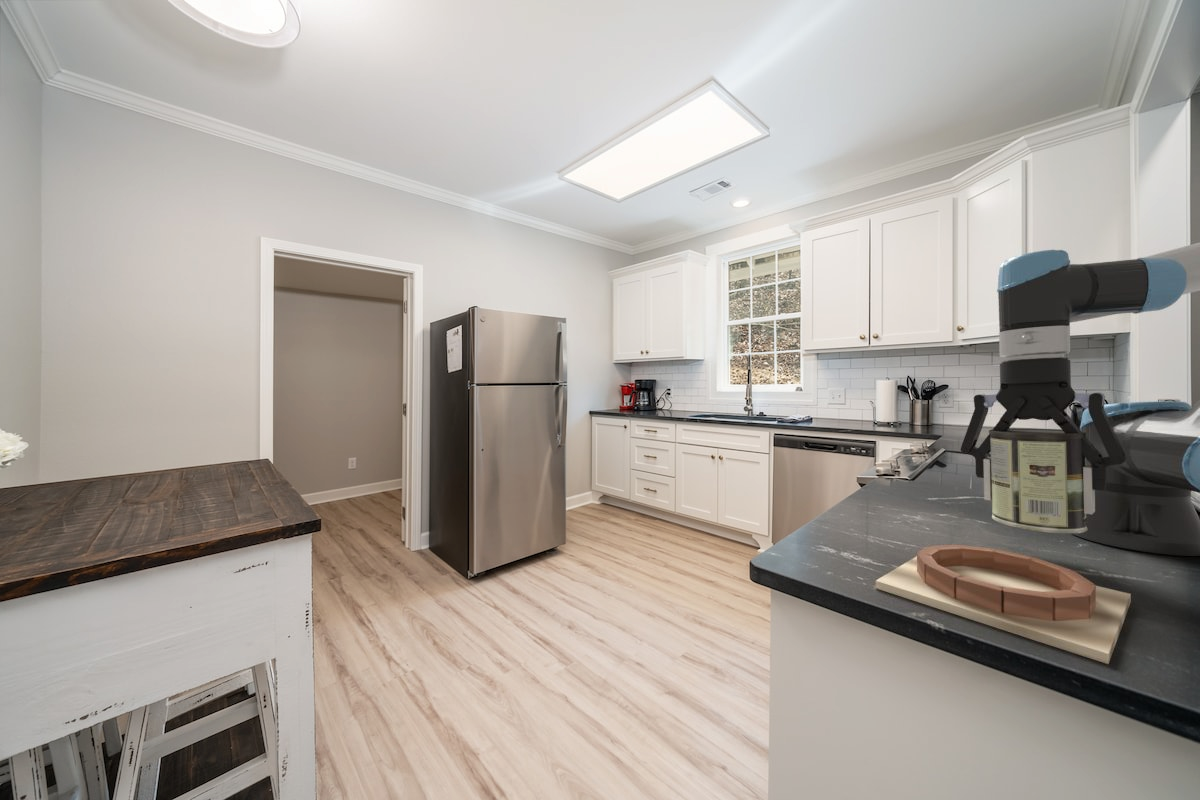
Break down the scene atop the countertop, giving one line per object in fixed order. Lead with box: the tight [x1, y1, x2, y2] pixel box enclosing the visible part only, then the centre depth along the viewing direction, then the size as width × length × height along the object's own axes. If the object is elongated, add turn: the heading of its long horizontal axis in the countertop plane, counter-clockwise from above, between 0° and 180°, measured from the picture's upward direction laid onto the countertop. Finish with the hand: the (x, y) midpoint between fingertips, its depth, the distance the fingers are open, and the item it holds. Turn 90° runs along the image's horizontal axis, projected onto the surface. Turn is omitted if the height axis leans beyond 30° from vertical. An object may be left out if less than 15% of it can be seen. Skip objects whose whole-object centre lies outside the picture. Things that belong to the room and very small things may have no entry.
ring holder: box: [875, 544, 1132, 665], centre depth 55 cm, size 20×20×4 cm
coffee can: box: [988, 427, 1088, 535], centre depth 65 cm, size 10×10×14 cm
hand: (1036, 504), depth 65 cm, fingers closed on coffee can, 10 cm apart
